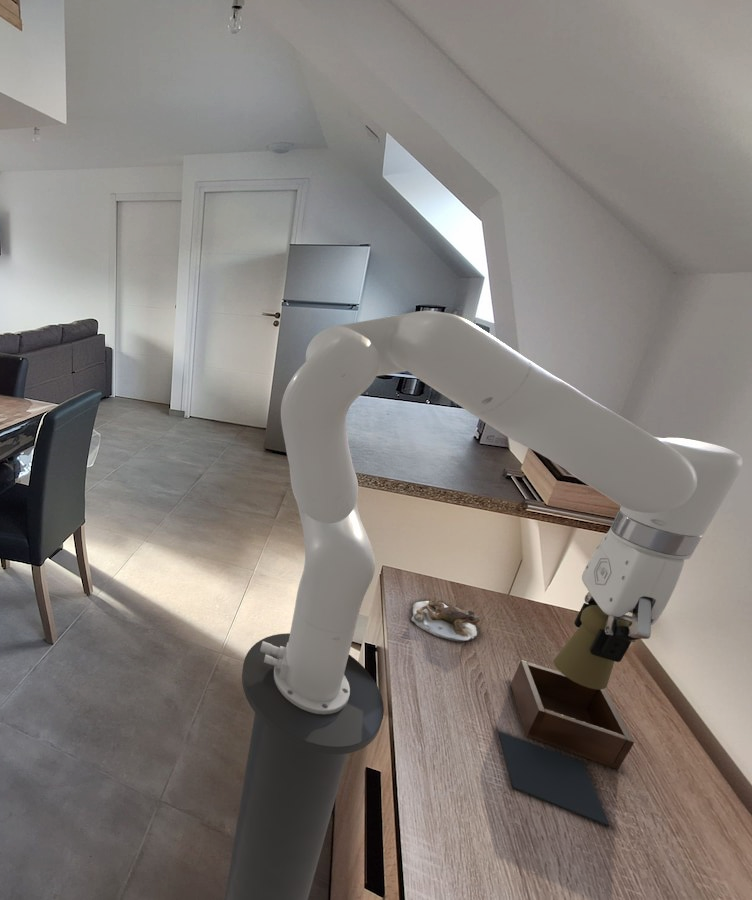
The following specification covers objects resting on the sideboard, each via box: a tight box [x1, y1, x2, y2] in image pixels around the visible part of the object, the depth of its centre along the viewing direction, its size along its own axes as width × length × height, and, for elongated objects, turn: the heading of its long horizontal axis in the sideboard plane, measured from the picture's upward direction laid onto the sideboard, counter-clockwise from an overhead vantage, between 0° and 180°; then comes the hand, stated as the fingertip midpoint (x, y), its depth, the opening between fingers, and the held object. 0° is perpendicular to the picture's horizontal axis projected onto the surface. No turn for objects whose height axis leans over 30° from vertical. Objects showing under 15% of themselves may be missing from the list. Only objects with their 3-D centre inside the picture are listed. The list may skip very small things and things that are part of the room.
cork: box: [553, 605, 630, 690], centre depth 65 cm, size 6×6×11 cm
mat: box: [498, 731, 610, 827], centre depth 63 cm, size 10×9×1 cm
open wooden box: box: [510, 659, 635, 770], centre depth 69 cm, size 11×11×6 cm
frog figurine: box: [410, 597, 481, 642], centre depth 91 cm, size 12×12×4 cm
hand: (595, 641), depth 65 cm, fingers closed on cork, 5 cm apart
